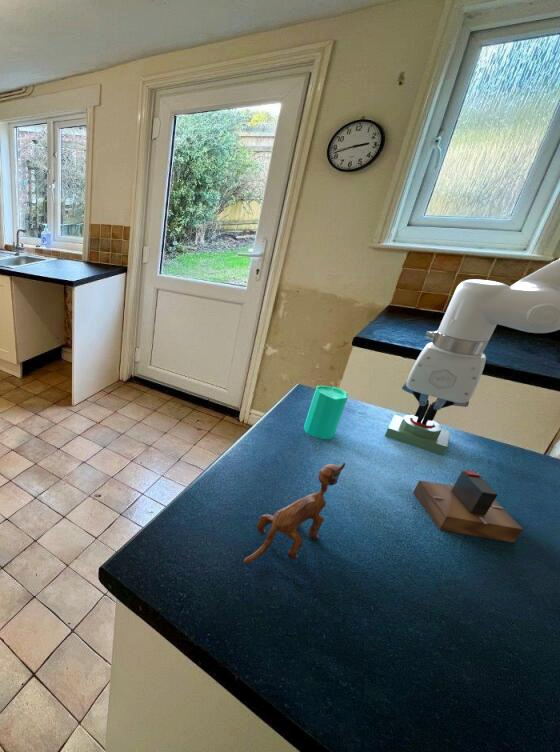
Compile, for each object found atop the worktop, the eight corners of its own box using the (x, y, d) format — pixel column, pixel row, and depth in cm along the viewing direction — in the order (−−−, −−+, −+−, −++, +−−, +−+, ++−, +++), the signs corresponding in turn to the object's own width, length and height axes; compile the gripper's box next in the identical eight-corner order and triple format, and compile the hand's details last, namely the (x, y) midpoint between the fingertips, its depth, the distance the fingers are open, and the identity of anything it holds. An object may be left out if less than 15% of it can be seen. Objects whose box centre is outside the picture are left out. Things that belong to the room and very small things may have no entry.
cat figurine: (261, 585, 60) (285, 515, 54) (224, 552, 65) (242, 484, 59) (334, 538, 67) (362, 471, 61) (296, 511, 72) (318, 447, 67)
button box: (446, 439, 91) (454, 424, 90) (443, 455, 86) (451, 439, 85) (390, 422, 98) (396, 407, 96) (384, 436, 93) (390, 421, 91)
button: (431, 428, 91) (434, 421, 90) (429, 434, 89) (432, 428, 88) (410, 421, 93) (413, 415, 92) (408, 428, 91) (411, 421, 90)
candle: (299, 431, 95) (313, 384, 89) (308, 421, 98) (322, 376, 93) (329, 442, 91) (345, 394, 85) (337, 431, 94) (354, 385, 89)
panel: (477, 502, 74) (485, 488, 73) (515, 544, 66) (525, 530, 65) (411, 491, 77) (418, 478, 75) (440, 531, 68) (448, 517, 67)
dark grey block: (485, 515, 67) (499, 493, 65) (470, 513, 68) (483, 491, 66) (464, 492, 72) (476, 471, 70) (451, 490, 73) (462, 469, 71)
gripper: (408, 338, 84) (377, 414, 93) (512, 360, 75) (467, 443, 83) (413, 329, 89) (383, 402, 97) (511, 348, 80) (469, 428, 88)
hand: (422, 421), depth 90 cm, fingers closed
